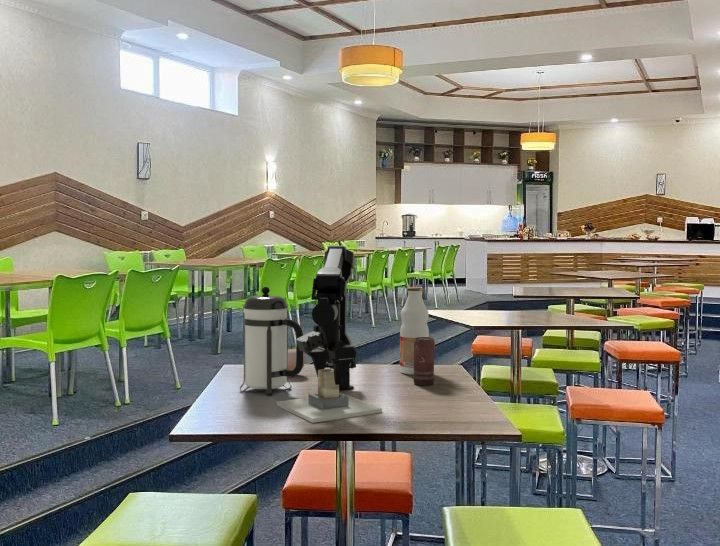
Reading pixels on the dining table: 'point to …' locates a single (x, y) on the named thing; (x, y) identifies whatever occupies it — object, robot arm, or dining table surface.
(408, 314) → the fruit juice
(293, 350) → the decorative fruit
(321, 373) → the square peg
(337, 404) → the square socket
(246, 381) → the coffee press
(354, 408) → the socket board
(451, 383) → the dining table surface
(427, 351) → the can
